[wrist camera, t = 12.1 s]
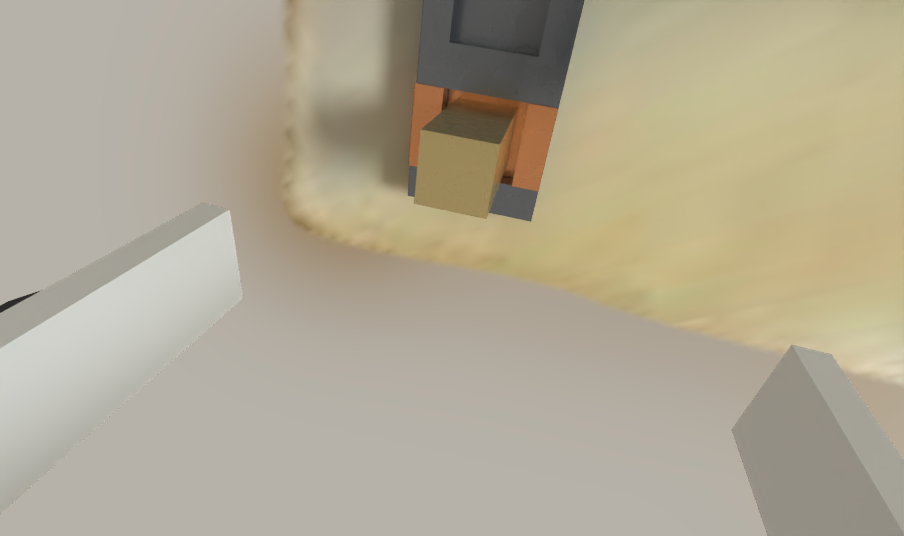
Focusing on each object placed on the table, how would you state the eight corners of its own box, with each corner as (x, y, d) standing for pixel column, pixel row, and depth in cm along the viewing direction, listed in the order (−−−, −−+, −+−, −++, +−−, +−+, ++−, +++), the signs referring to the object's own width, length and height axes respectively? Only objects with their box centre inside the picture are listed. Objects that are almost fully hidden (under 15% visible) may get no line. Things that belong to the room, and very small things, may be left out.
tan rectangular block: (458, 97, 30) (420, 129, 22) (517, 108, 30) (499, 144, 22) (450, 155, 32) (414, 203, 25) (506, 166, 32) (486, 218, 24)
